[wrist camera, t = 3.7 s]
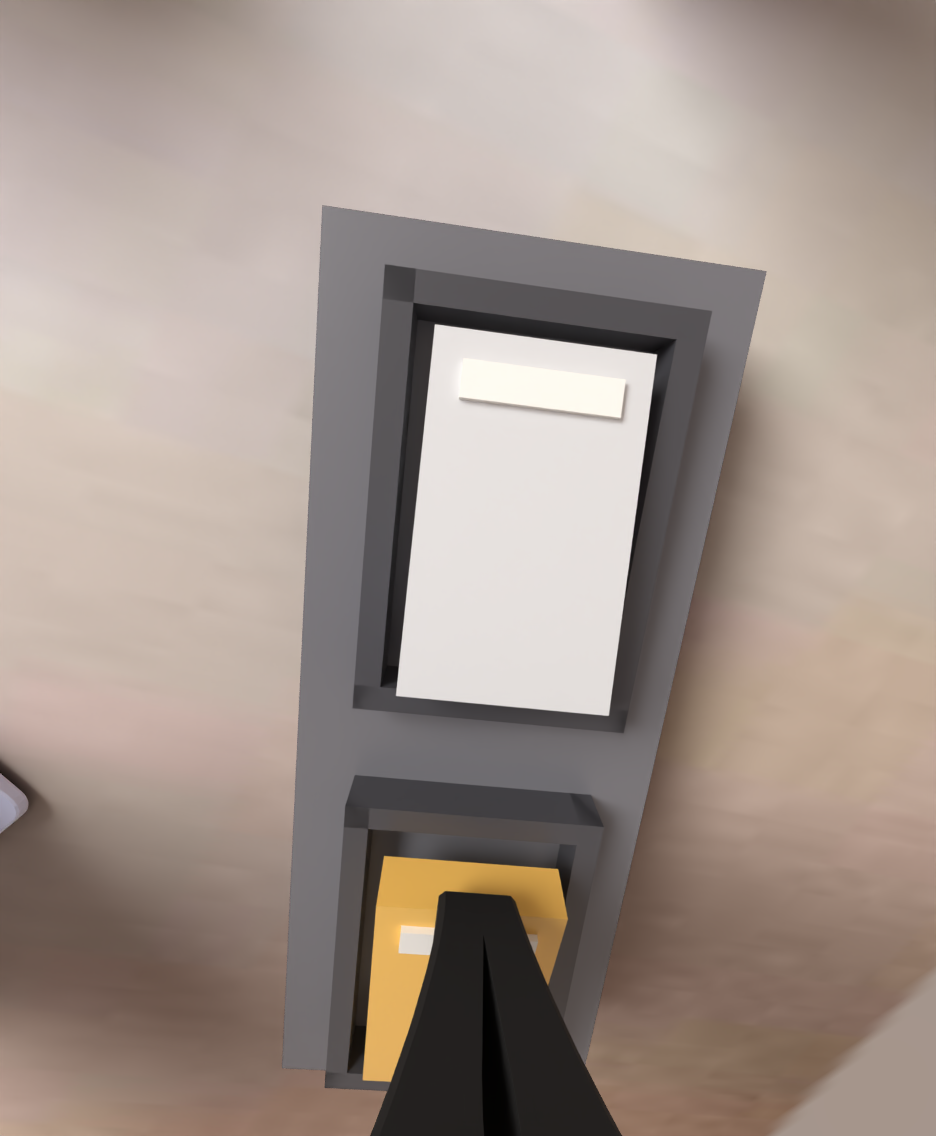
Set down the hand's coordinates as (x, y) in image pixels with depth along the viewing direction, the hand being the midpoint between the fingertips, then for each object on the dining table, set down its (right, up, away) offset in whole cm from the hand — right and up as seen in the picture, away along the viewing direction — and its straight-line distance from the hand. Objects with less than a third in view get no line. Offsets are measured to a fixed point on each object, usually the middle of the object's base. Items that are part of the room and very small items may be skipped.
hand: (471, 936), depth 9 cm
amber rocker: (0, -2, +2) cm, 3 cm away
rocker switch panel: (0, +4, +5) cm, 6 cm away
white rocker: (+1, +8, -1) cm, 8 cm away
